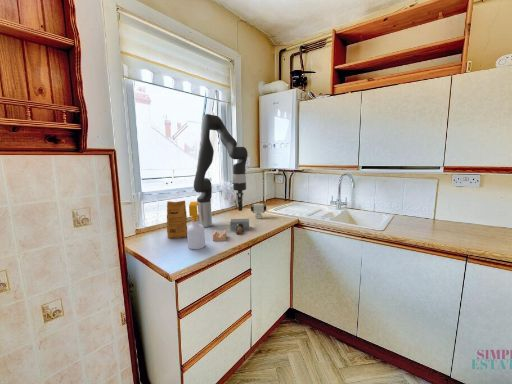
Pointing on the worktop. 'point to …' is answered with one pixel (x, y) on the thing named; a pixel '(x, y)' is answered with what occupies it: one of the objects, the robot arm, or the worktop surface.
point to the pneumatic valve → (258, 210)
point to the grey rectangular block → (239, 221)
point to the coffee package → (176, 219)
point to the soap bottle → (195, 229)
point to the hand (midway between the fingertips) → (240, 208)
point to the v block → (219, 236)
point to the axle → (239, 229)
